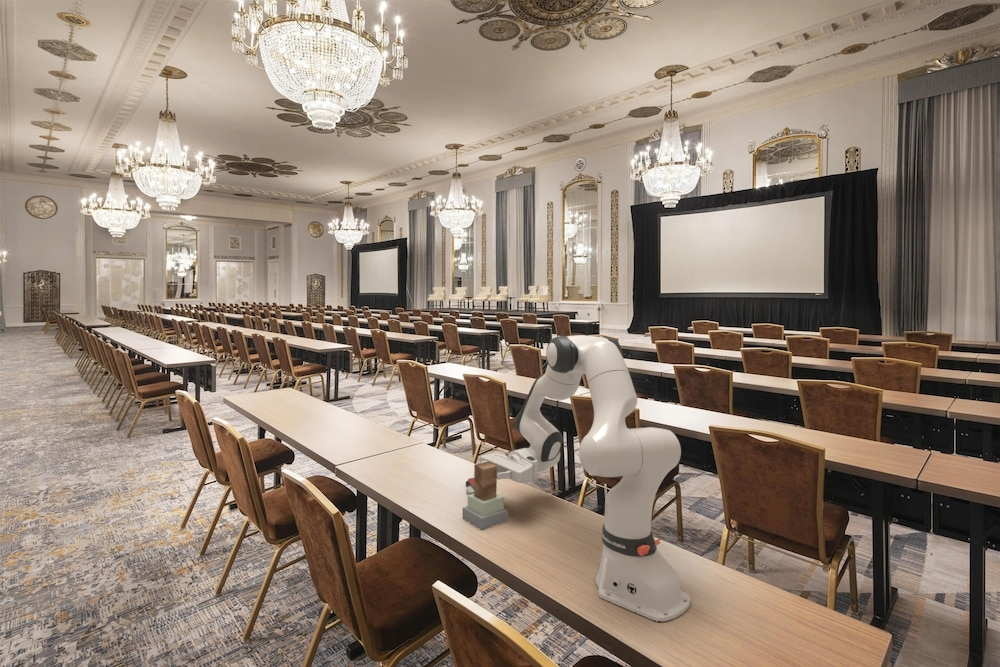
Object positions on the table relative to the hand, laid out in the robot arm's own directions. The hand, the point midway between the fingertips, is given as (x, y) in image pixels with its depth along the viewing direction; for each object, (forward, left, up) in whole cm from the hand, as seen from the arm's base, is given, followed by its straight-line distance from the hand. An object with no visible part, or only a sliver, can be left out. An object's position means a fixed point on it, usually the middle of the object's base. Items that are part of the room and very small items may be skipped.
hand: (486, 472), depth 162 cm
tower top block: (0, 0, -12) cm, 12 cm away
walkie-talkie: (+17, -10, -16) cm, 26 cm away
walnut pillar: (0, +1, -7) cm, 8 cm away
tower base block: (0, +1, -16) cm, 16 cm away
